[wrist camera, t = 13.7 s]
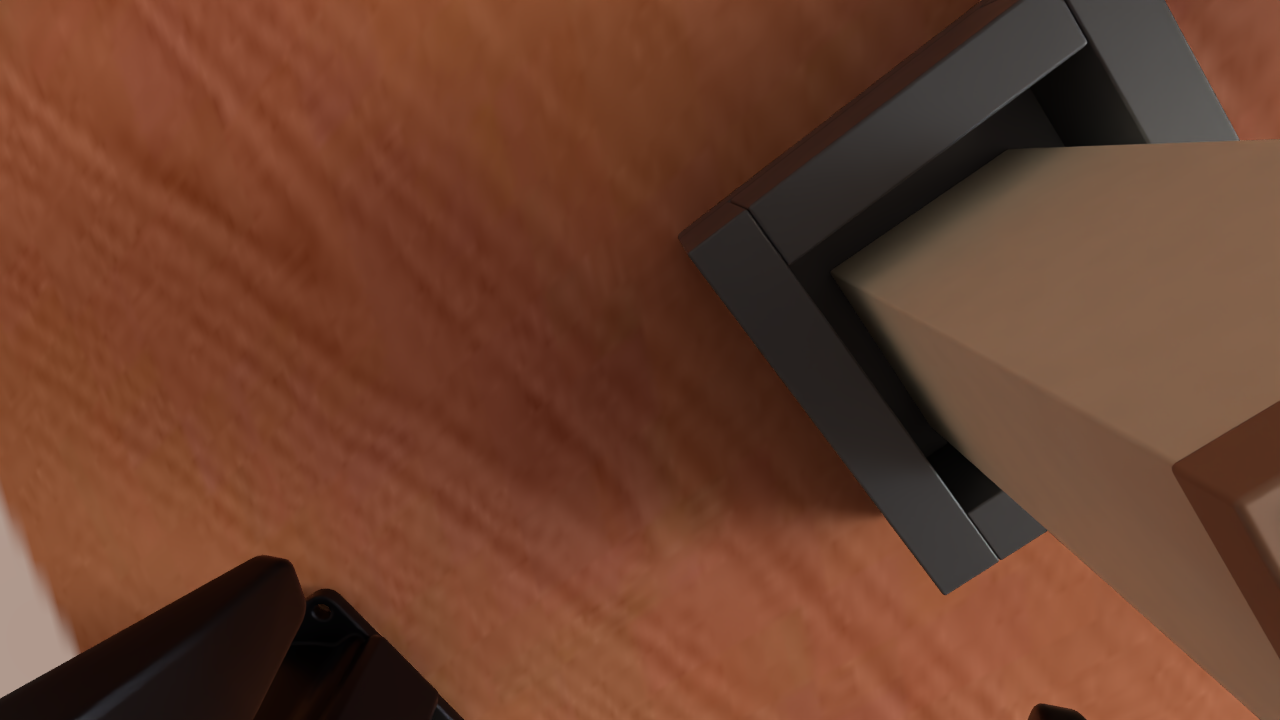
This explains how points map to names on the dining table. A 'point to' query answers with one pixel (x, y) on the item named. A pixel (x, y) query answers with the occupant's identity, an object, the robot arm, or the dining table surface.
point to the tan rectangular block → (1112, 369)
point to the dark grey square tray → (899, 187)
